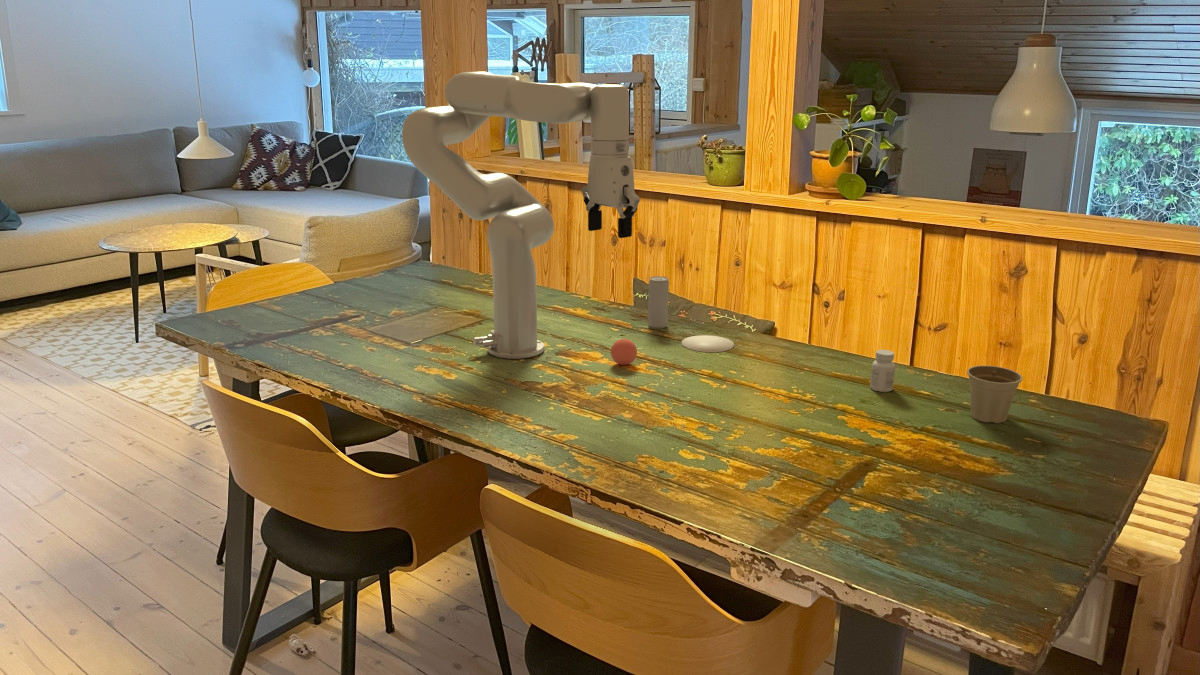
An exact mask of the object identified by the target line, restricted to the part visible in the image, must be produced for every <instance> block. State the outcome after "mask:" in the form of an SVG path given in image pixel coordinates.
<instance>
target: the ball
mask: <svg viewBox="0 0 1200 675" xmlns="http://www.w3.org/2000/svg"><path fill="white" fill-rule="evenodd" d="M637 354H638V349H637V347H636V344H635V343H634V342H633V341H632V340H630V339H628V338H621V339H618V340H616V341H615V342H614V343H613V344H612V346H611V348H610V356H611V358H612V360H613V361H614V362H615V363H616V364H618V365H620V366H626V365H630V364H632V363H633V362H634V361H635V360H636V358H637Z"/></svg>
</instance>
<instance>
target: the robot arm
mask: <svg viewBox="0 0 1200 675" xmlns="http://www.w3.org/2000/svg"><path fill="white" fill-rule="evenodd" d="M444 97H445V101H446V103H447V105H440V106H429V107H422V108H419V109H417V110H414V111H413V112H411V113H410V114H409V115H408V116H407V117H406V119H405V120H404V122H403V125H402V131H401V136H402V145H403V148H404V151H405V153H406V155H407V157H408V159H409V160H410V162H411V163H412V165H413V167H415V168H416V169H417V170H418V171H419V172H420V173H421V174H423V176H425V177H426V178H427V179H428V180H430V181H431V182H432V183H433V184H434V185H435V186H436V187H437V188H438V189H439V190H440V191H441V192H442V193H443V194H444V195H445V196H446V197H447V198H448V199H449V200H450V201H451V202H452V203H454V204H455V205H456V207H458V208H459V209H460V211H462V212H463V213H464V214H465V215H466V216H468V217H469V218H470V219H472V220H474V221H485V220H489V219H492V220H491V221H490V222H489V225H488V227H487V233H486V236H487V237H486V238H487V245H488V248H489V253H490V258H491V259H490V260H491V270H492V289H493V290H492V293H493V297H492V298H493V326H494V329H491V330H490V331H489V332H490V333H489V334H486V336H475V337H474V336H473V338H472V341H473V342H472V343H473V345H474V346H475V347H478V346H482V347H483V348H487V352H488V353H489V354H490V355H492V356H494V357H497V358H500V359H501V358H502V359H511V360H512V359H514V360H515V359H516V360H517V359H527V358H528V359H529V358H533V357H535V356H536V357H537V356H539V355H540V354H542V353H543V352H544V351H545V343H543V342H542V341H541V340H539V339H538V309H537V308H538V307H537V306H538V305H537V303H538V298H537V296H538V295H537V289H538V288H537V286H538V285H537V269H536V265H535V261H534V258H533V254H532V249H535V248H538V247H541V246H542V245H544V244H546V243H548V242H549V241H550V239H551V238H552V236H553V234H554V231H555V223H554V219H553V217H552V214H551V213H550V211H549V210H548V209H547V207H545V206H544V204H542V202H541V201H539V200H538V199H537V198H536V197H535V196H534V195H533V194H532V193H531V192H530V191H529V190H527V189H526V187H524V185H522V184H521V183H520V182H519V181H518V180H517V179H515V178H514V177H512V176H511V175H509V174H506V173H503V172H490V173H487V174H485V173H482V172H480V171H478V170H477V169H476V168H474V167H473V166H472V165H471V164H470V163H469V162H468V161H467V160H466V159H465V158H464V157H462V156H461V155H459V154H458V153H457V152H455V151H453V150H451V149H450V148H448V147H447V146H450V145H456V144H460V143H462V142H464V141H466V140H468V139H469V138H470V137H471V136H472V135H473V134H475V132H477V130H479V128H480V127H482V125H483V124H484V123H485V122H486V121H488V119H489V118H490V117H499V118H508V119H514V120H521V121H528V122H535V123H546V124H558V125H559V124H561V125H562V124H563V125H564V124H569V123H574V122H575V123H577V122H584V121H590V157H589V162H588V163H589V166H588V175H587V176H588V177H587V184H586V185H584V186H583V187H582V188H581V193H582V197H583V203H584V204H585V209H586V212H587V230H588V231H590V232H593V231H600V230H602V228H603V219H602V218H603V217H602V216H603V215H602V214H603V213H602V212H603V211H602V210H601V207H602V206H604V207H608V208H615V210H616V211H617V213H618V215H619V217H618V218H617V238H619V239H624V238H631V237H632V235H633V218H634V217H635V213H636V212H637V211H638V206H639V203H640V201H641V199H640V196H639V195H638V194H636V191H635V177H634V175H635V174H634V168H633V161H632V157H631V156H630V155H629V154H630V152H629V149H630V145H629V144H630V143H629V139H630V136H629V134H630V128H629V127H630V121H629V120H630V92H629V88H628V87H627V86H626V85H623V84H613V83H612V84H611V83H610V84H593V83H587V82H569V83H566V82H565V83H546V82H544V83H542V82H531V81H524V80H522V79H521V78H520V77H519V76H517V75H511V74H510V75H509V74H496V73H495V74H494V73H492V72H489V71H488V72H487V71H464V72H459V73H457V74H456V73H455V74H454V75H453V76H451V77H450V78H449V80H448V81H447V82H446V85H445V89H444ZM624 208H625V209H624Z"/></svg>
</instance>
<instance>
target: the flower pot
mask: <svg viewBox="0 0 1200 675" xmlns="http://www.w3.org/2000/svg"><path fill="white" fill-rule="evenodd" d="M966 374H967V376H968V381H969V384H970V387H969V388H970V414H971V417H972V418H973V419H975V420H977V421H980V422H982V421H983V423H986V422H988V423H994V424H1002V423H1004V422H1006V421H1007V419H1008V415H1009V412H1010V409H1011V406H1012V402H1013V399H1014V396H1015V393H1016V390H1017V389H1018V387H1019V386H1020V383H1022V381H1023V380H1024V379H1023V374H1020V373H1019V372H1018V371H1015V370H1013V369H1010V368H1006V367H1003V366H1002V367H1001V366H997V365H996V366H995V365H974V366H972V367H971V366H970V367H969V368H968V369H967V371H966ZM1001 422H1002V423H1001Z"/></svg>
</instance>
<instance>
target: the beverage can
mask: <svg viewBox="0 0 1200 675" xmlns="http://www.w3.org/2000/svg"><path fill="white" fill-rule="evenodd" d="M669 286H670V281H669V278H668V277H666V276H659V275H658V276H651V277H649V280H648V298H647V299H648V300H647V301H648V302H647V303H648V304H647V305H648V306H647V307H648V308H647V325H648V327H649V328H651V329H655V328H656V329H658V330H659V329H660V330H661V328H662V329H665V328H666V327H667V326H668V323H669V322H668V319H669V316H668V315H669V290H670V288H669Z"/></svg>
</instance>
